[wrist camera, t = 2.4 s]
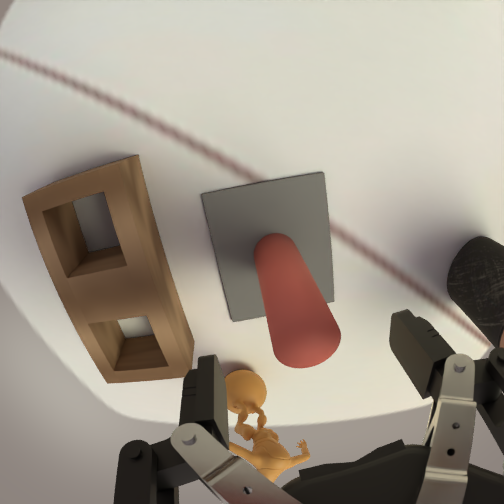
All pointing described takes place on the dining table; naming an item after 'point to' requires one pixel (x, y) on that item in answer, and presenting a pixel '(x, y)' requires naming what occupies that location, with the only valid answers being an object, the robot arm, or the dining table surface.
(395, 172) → the dining table surface
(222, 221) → the mat
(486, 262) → the travel mug
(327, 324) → the peg
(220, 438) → the robot arm
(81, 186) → the hole block
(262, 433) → the figurine
